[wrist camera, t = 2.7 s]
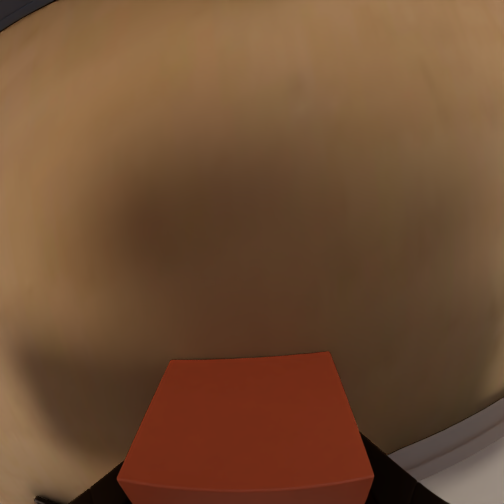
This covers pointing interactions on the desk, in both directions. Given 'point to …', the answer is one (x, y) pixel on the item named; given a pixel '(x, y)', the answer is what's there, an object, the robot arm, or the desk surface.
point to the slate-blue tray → (17, 10)
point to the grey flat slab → (461, 459)
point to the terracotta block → (248, 436)
